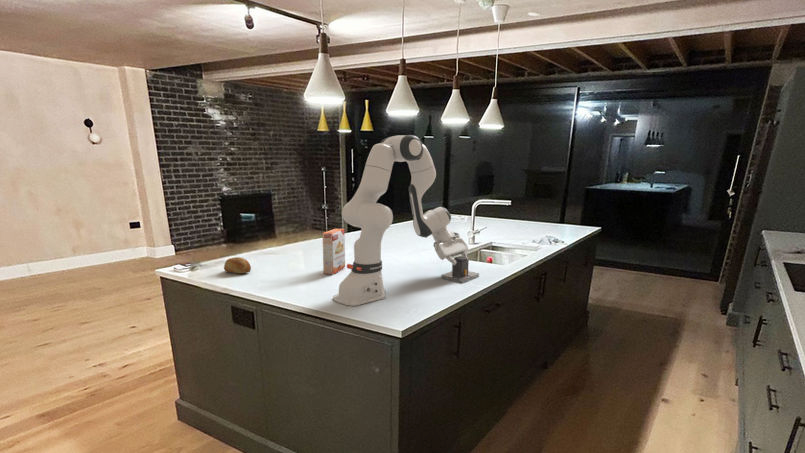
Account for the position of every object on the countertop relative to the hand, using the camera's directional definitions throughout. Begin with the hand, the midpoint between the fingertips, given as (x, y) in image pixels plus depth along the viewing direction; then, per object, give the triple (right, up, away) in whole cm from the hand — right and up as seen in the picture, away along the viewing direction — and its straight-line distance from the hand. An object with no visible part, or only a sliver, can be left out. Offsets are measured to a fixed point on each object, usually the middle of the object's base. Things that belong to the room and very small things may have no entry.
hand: (461, 262), depth 188 cm
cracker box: (-62, -6, +14) cm, 64 cm away
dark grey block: (0, -6, +1) cm, 6 cm away
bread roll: (-111, -7, +12) cm, 112 cm away
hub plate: (0, -7, +2) cm, 7 cm away
